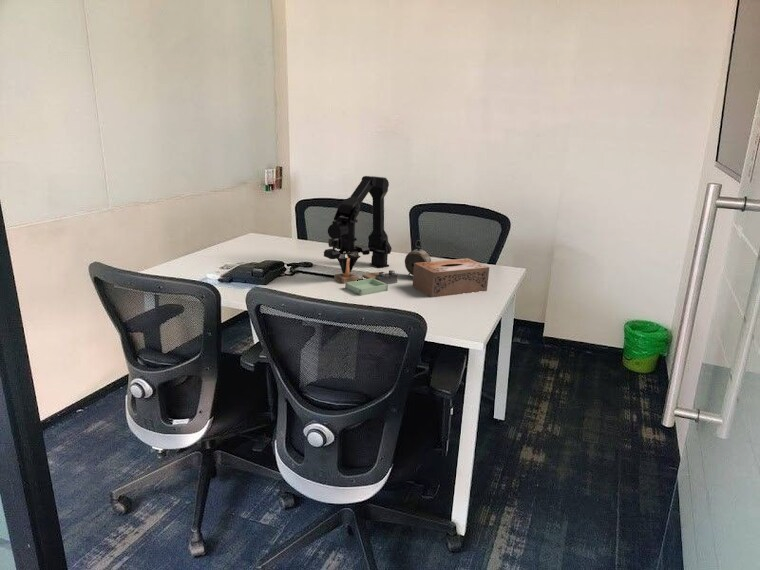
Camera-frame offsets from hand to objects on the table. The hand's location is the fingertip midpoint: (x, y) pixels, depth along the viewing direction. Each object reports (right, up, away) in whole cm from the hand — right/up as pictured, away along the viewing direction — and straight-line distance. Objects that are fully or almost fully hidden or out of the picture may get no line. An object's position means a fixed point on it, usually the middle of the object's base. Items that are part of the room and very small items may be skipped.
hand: (346, 272), depth 229 cm
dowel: (0, -3, +1) cm, 3 cm away
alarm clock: (+29, -2, +9) cm, 30 cm away
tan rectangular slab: (+12, -3, +4) cm, 13 cm away
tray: (+8, -7, -10) cm, 14 cm away
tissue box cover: (+41, -7, -3) cm, 42 cm away
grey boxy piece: (+16, -4, 0) cm, 17 cm away
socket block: (0, -3, +1) cm, 3 cm away
